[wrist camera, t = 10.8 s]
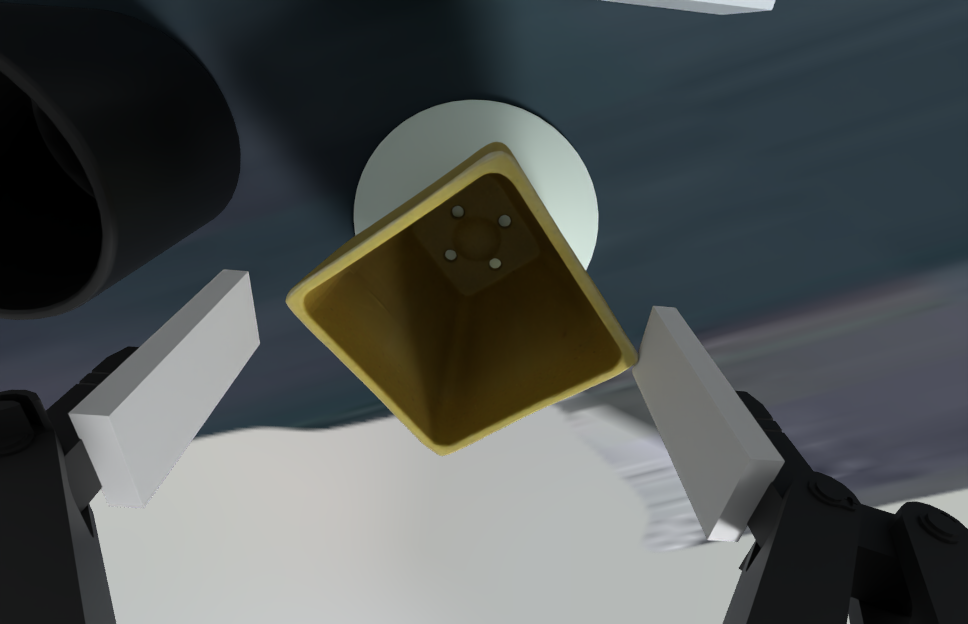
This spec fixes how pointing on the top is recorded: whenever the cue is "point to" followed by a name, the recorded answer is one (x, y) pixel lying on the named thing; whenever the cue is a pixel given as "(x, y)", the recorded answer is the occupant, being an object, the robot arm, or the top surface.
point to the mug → (100, 153)
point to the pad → (458, 135)
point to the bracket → (707, 5)
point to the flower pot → (465, 307)
